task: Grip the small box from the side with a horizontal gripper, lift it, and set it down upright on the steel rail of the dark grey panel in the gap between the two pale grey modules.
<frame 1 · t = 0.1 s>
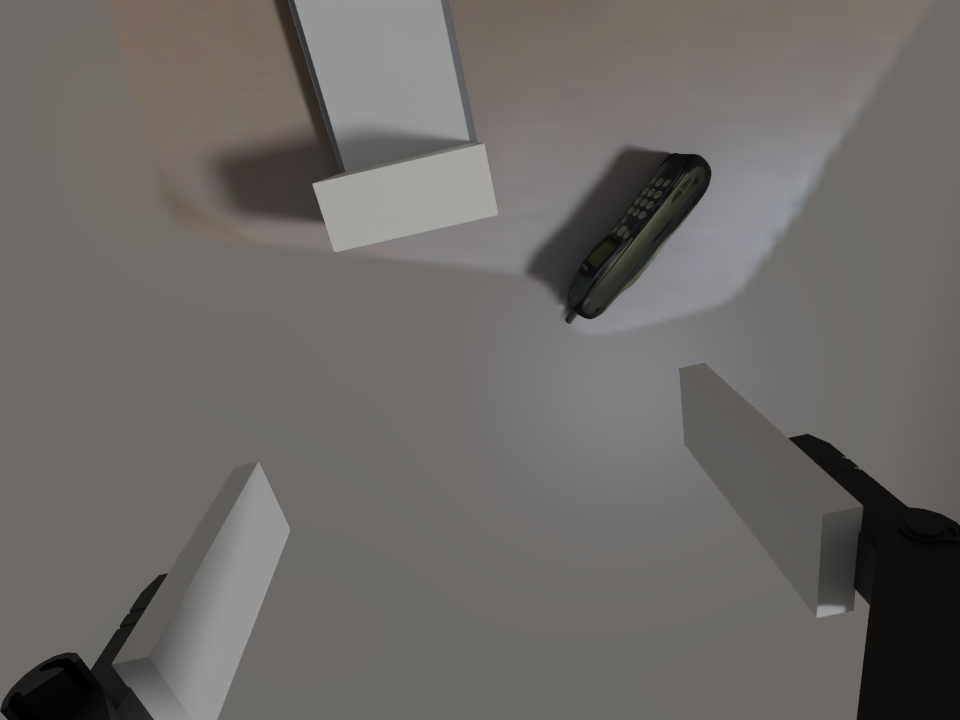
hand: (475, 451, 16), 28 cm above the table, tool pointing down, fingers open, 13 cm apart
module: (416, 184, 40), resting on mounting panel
mobile phone: (617, 241, 43), on the table
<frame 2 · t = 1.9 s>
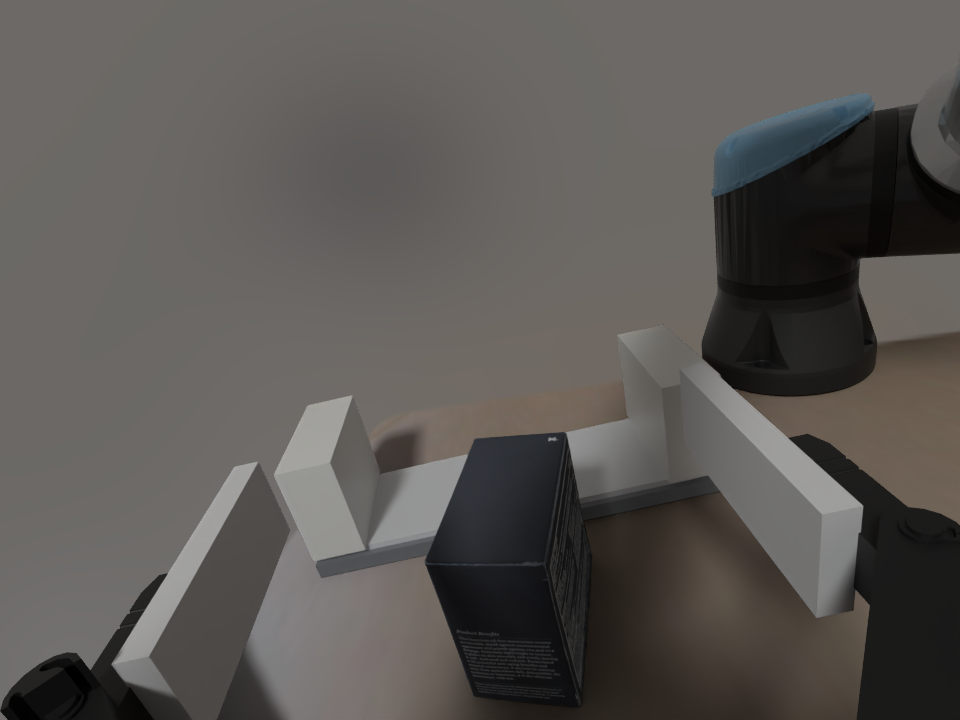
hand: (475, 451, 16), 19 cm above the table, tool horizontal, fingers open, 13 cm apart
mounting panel: (512, 492, 45), on the table
small box: (537, 621, 33), on the table
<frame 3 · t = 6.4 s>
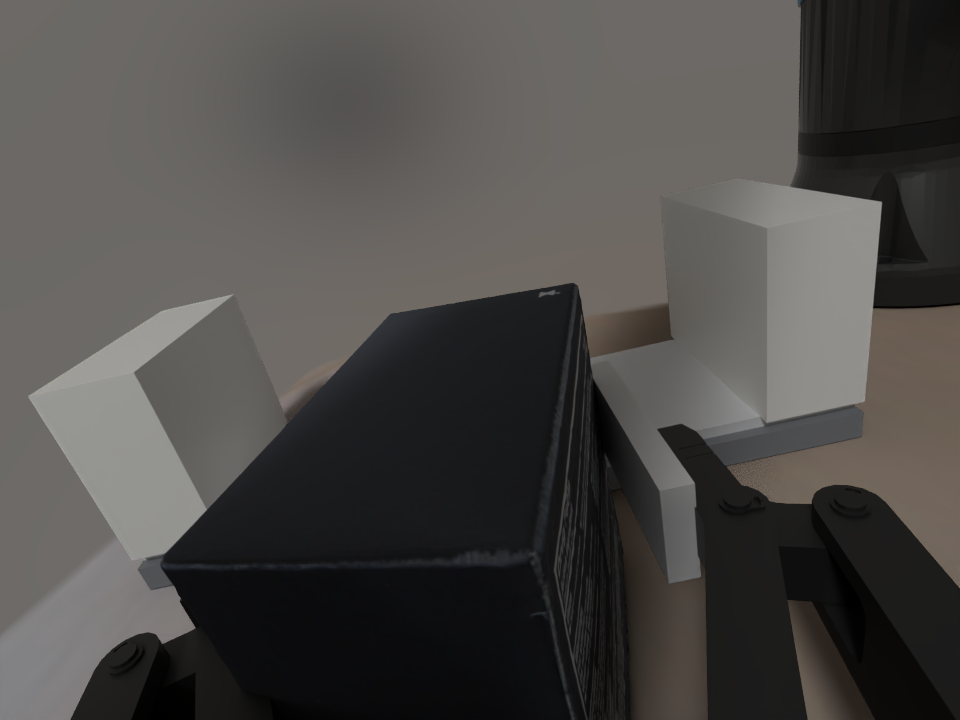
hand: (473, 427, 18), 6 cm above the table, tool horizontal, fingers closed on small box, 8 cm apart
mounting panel: (489, 450, 27), on the table
small box: (519, 686, 16), on the table, touching gripper
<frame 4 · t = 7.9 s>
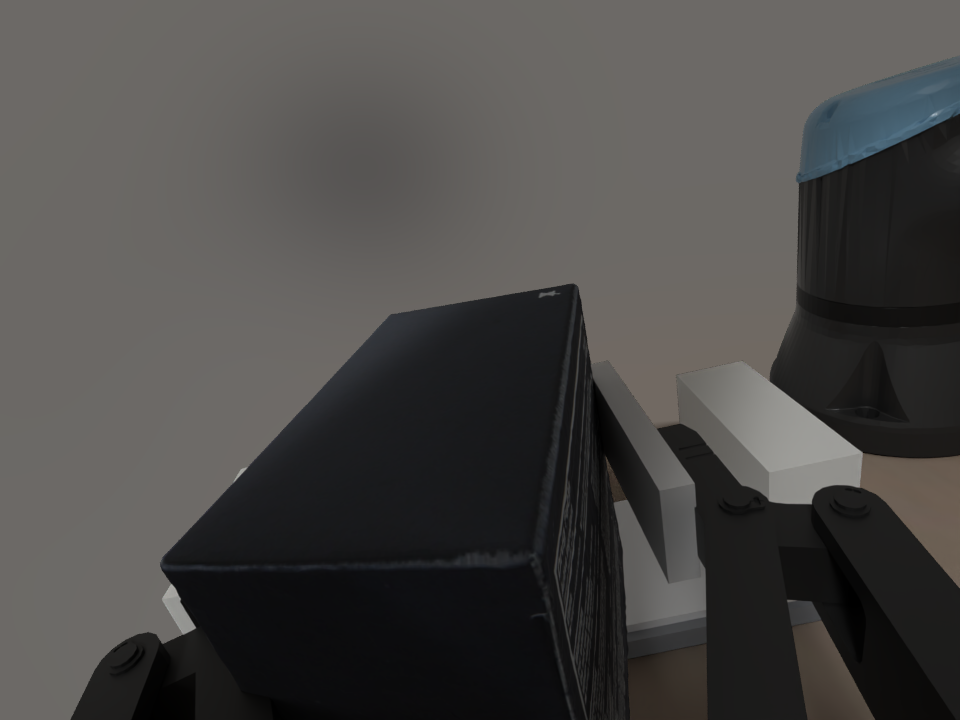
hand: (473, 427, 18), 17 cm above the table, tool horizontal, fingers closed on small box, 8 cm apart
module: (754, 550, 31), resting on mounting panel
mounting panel: (527, 597, 31), on the table
small box: (520, 687, 16), point 10 cm above the table, touching gripper
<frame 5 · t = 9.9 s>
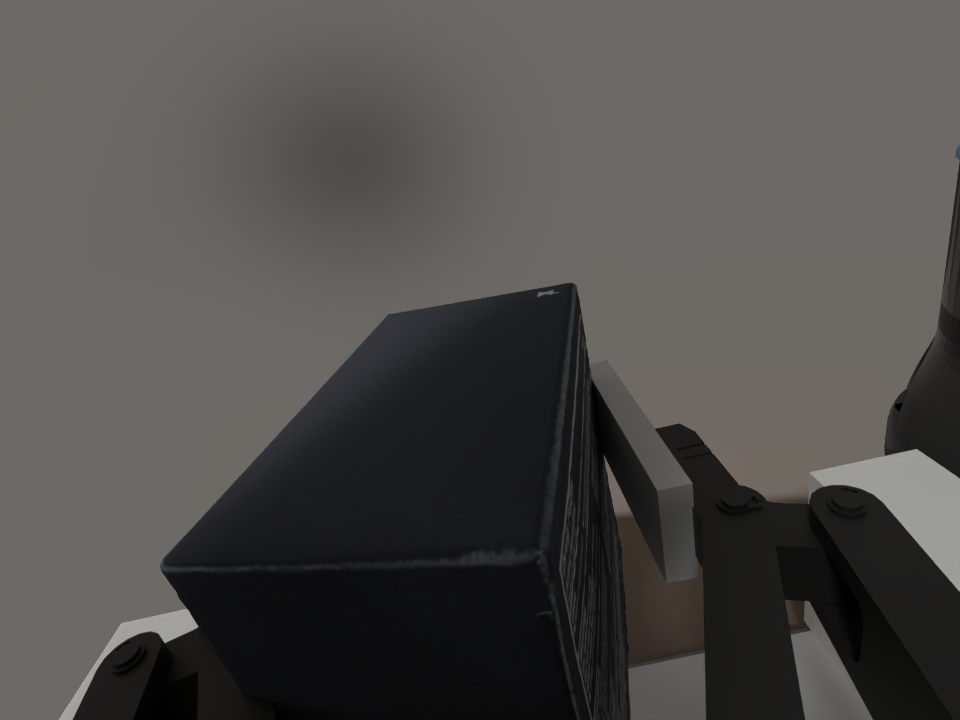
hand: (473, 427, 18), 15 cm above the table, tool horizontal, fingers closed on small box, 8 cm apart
small box: (520, 687, 16), point 9 cm above the table, touching gripper
when the fingers open (9 cm above the table, at t = 11.5 s): small box drops 1 cm, resting on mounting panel.
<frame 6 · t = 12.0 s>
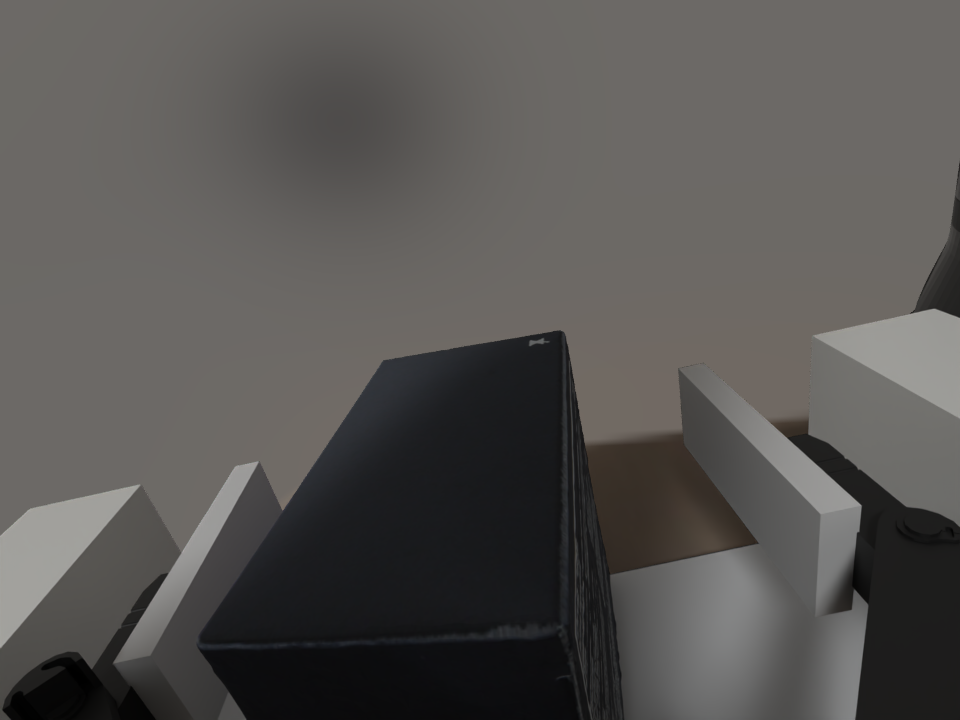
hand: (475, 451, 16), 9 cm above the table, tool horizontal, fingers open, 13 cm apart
small box: (520, 717, 17), point 1 cm above the table, touching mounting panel
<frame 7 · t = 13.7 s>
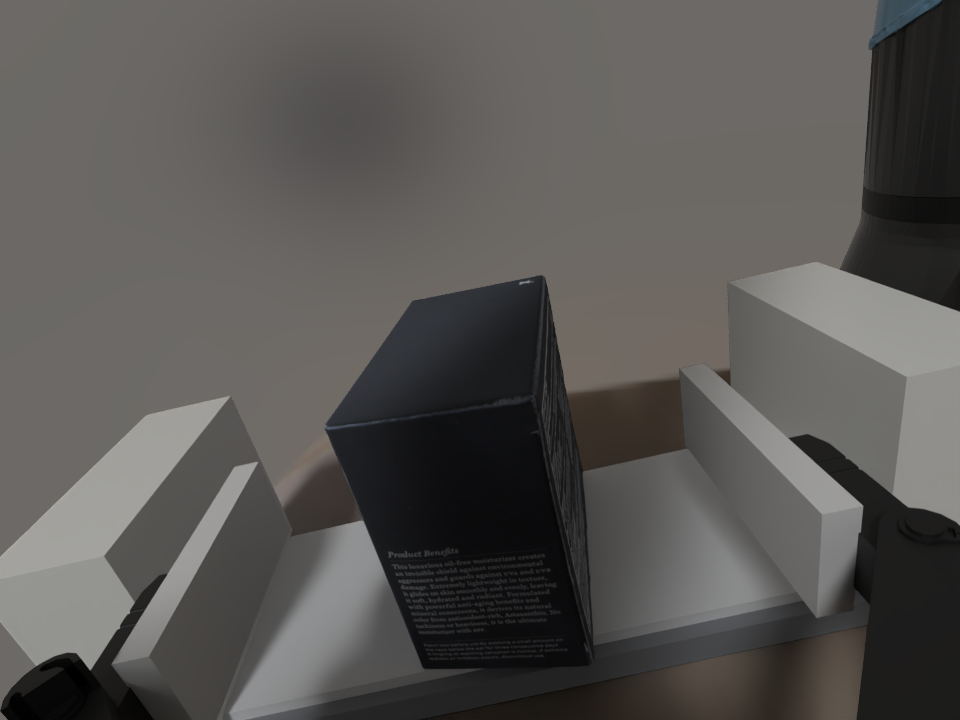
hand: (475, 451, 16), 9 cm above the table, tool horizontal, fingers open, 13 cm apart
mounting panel: (531, 581, 23), on the table
small box: (513, 558, 23), point 1 cm above the table, touching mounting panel
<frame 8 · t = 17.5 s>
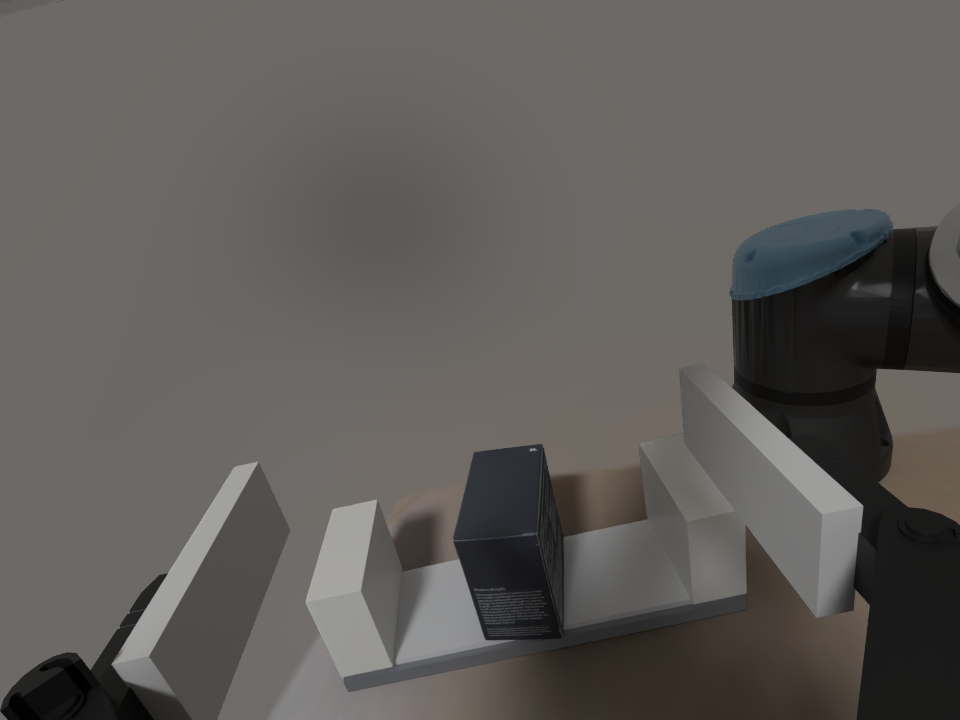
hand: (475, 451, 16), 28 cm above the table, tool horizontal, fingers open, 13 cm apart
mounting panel: (535, 598, 45), on the table
small box: (526, 586, 45), point 1 cm above the table, touching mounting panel
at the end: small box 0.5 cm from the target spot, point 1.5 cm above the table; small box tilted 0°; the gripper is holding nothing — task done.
